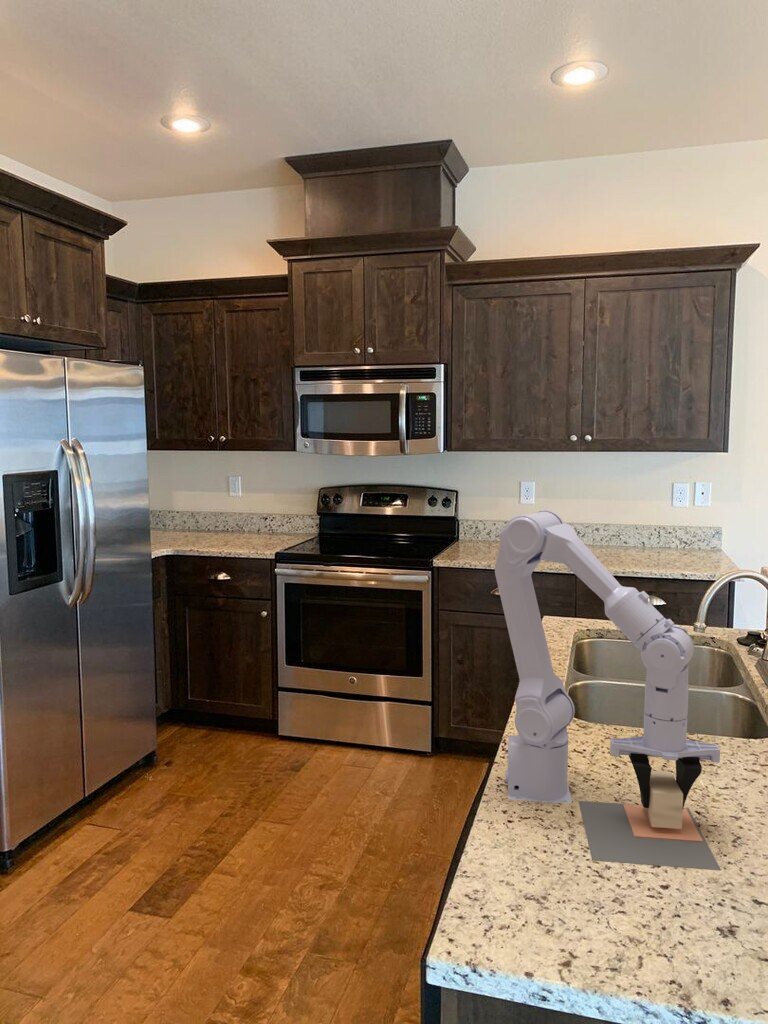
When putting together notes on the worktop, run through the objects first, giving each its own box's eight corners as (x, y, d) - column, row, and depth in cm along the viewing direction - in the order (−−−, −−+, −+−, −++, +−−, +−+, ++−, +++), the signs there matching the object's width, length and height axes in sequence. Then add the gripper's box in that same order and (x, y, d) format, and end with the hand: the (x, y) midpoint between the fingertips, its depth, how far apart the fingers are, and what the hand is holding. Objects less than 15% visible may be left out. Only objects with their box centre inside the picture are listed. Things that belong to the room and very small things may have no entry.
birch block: (641, 802, 111) (643, 770, 110) (669, 804, 110) (671, 771, 110) (651, 826, 104) (653, 792, 103) (681, 829, 103) (683, 794, 103)
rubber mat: (592, 862, 98) (592, 858, 98) (578, 803, 114) (578, 799, 113) (720, 873, 96) (721, 868, 95) (688, 810, 111) (688, 806, 111)
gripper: (617, 721, 102) (613, 816, 104) (728, 727, 100) (723, 823, 102) (609, 703, 109) (606, 791, 111) (713, 708, 107) (709, 798, 109)
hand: (661, 805), depth 107 cm, fingers closed on birch block, 4 cm apart
